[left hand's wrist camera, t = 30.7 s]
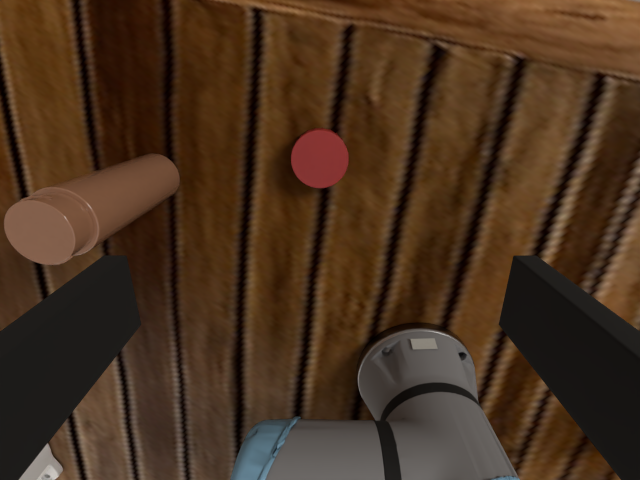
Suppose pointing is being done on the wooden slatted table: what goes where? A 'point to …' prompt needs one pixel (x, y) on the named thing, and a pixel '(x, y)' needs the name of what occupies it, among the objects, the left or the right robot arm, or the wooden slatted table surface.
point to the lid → (319, 158)
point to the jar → (88, 208)
